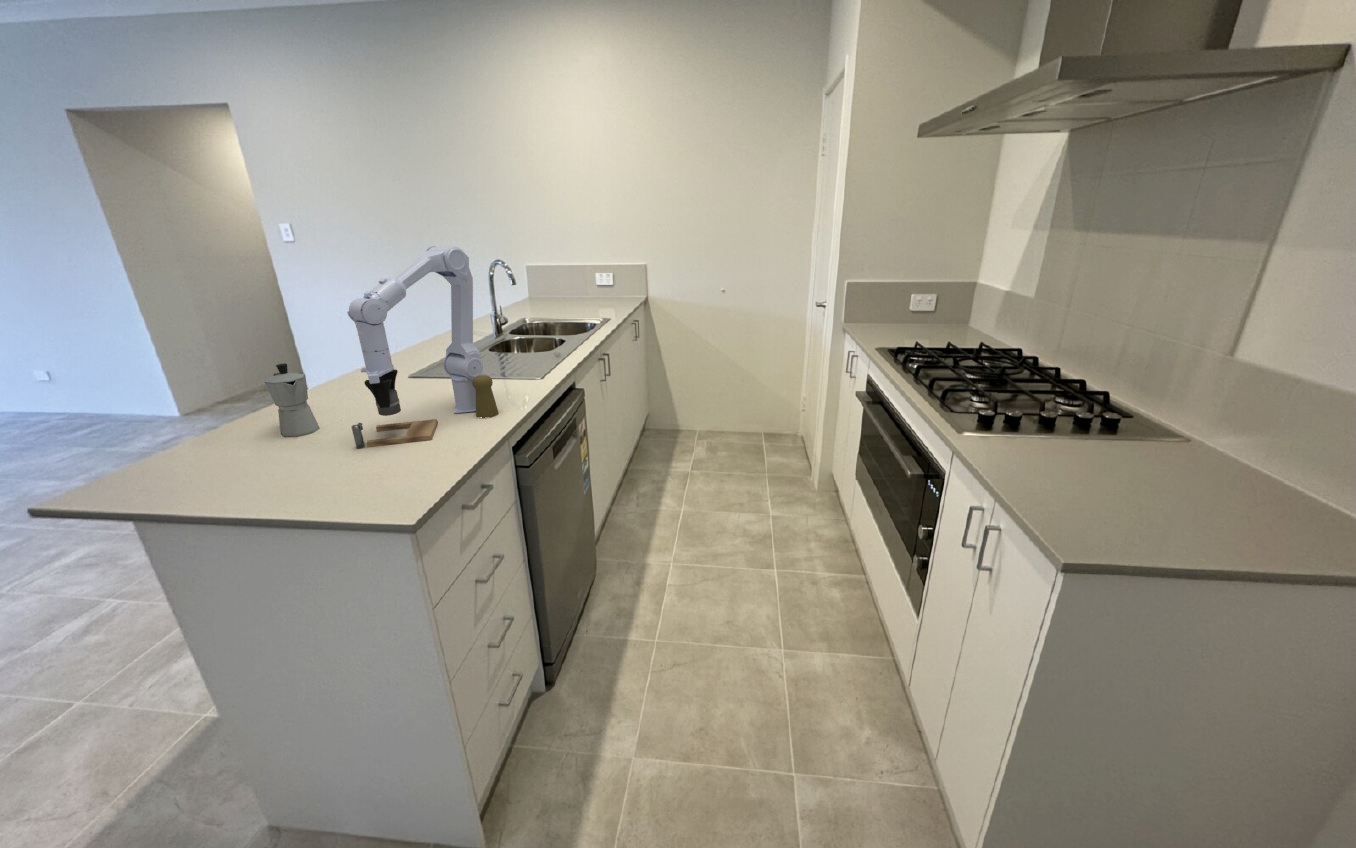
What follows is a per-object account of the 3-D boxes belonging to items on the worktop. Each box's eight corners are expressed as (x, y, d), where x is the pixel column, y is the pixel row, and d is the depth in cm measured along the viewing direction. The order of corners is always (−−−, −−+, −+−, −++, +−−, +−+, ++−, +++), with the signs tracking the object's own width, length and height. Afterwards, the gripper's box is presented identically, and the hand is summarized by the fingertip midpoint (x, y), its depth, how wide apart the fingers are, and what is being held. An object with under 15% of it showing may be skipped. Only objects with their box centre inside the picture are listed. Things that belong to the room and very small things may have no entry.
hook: (368, 440, 136) (363, 420, 134) (364, 448, 132) (358, 426, 130) (360, 441, 136) (355, 420, 134) (355, 449, 132) (350, 427, 130)
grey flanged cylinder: (401, 406, 140) (397, 387, 138) (400, 414, 136) (396, 395, 134) (379, 409, 138) (374, 390, 136) (377, 417, 134) (372, 398, 132)
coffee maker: (327, 432, 142) (309, 364, 136) (287, 442, 136) (266, 372, 130) (309, 419, 152) (292, 355, 145) (272, 428, 146) (251, 361, 139)
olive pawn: (503, 412, 154) (498, 374, 150) (488, 419, 149) (482, 380, 145) (486, 409, 156) (481, 372, 152) (471, 416, 151) (464, 377, 147)
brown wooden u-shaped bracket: (437, 423, 147) (437, 418, 147) (431, 439, 136) (430, 435, 136) (378, 429, 143) (377, 425, 143) (367, 447, 133) (366, 442, 132)
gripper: (364, 344, 137) (376, 396, 142) (348, 358, 124) (362, 414, 129) (395, 341, 138) (406, 393, 143) (383, 355, 125) (395, 411, 130)
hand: (387, 403), depth 136 cm, fingers closed on grey flanged cylinder, 5 cm apart
